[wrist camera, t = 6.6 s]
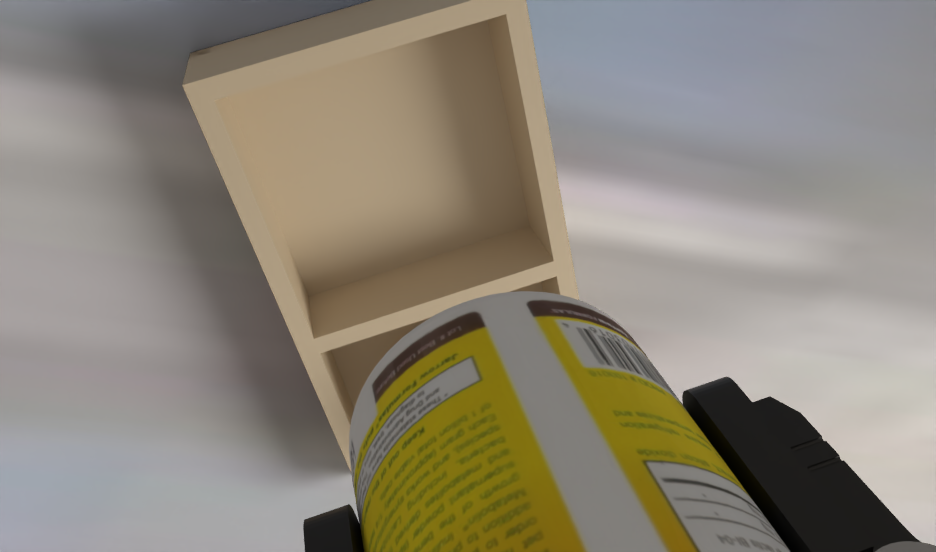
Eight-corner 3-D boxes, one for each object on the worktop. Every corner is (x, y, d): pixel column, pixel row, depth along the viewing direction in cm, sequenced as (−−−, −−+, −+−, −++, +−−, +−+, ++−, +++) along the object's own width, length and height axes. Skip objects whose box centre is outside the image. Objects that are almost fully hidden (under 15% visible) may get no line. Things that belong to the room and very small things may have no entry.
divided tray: (492, -35, 24) (522, -15, 21) (577, 401, 33) (606, 453, 30) (190, 53, 23) (182, 84, 20) (367, 473, 32) (377, 533, 30)
